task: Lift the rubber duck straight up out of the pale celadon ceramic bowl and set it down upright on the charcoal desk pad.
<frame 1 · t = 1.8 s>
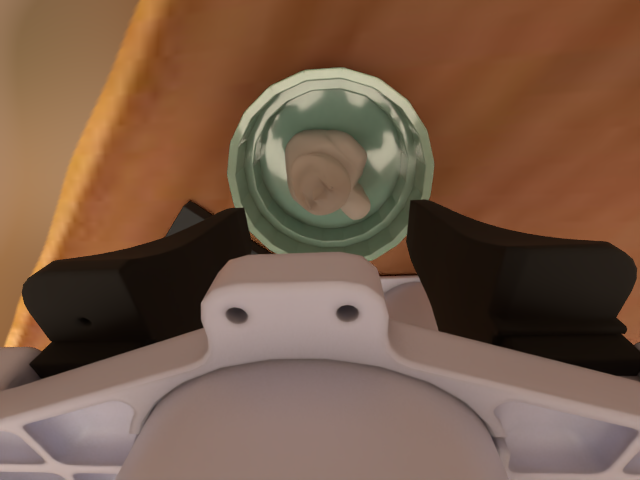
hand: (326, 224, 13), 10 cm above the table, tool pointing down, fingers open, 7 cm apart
bowl: (329, 164, 21), on the table
rubber duck: (329, 165, 21), resting on bowl
desk pad: (205, 312, 29), on the table
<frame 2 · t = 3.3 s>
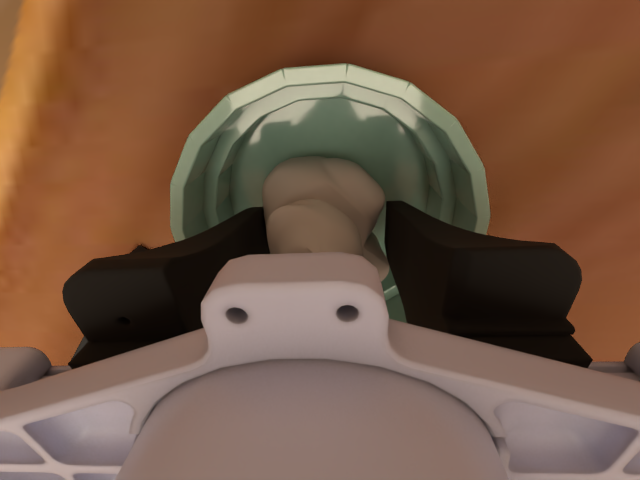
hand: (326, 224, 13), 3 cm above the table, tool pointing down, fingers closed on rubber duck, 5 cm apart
bowl: (328, 200, 15), on the table
rubber duck: (329, 201, 15), resting on bowl, touching gripper
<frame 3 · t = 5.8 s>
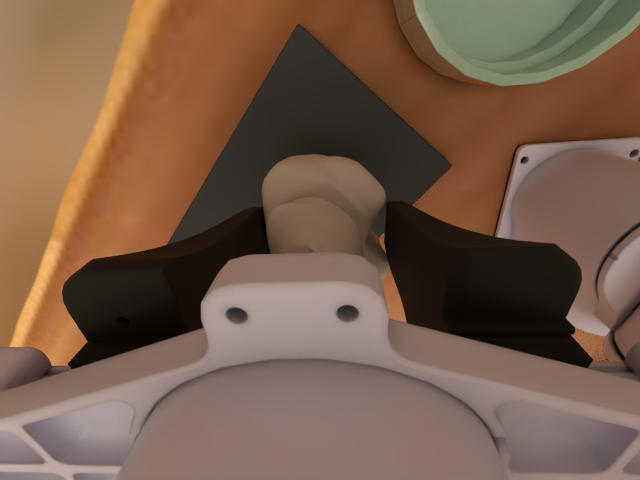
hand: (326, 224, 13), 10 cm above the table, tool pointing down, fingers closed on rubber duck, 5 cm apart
rubber duck: (329, 200, 15), point 7 cm above the table, touching gripper
desk pad: (293, 209, 23), on the table
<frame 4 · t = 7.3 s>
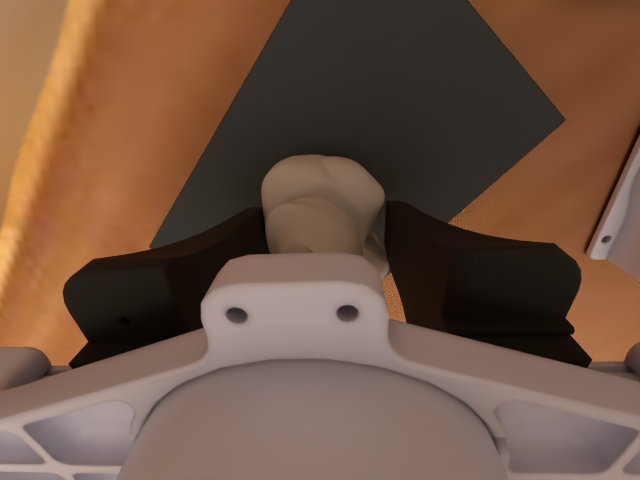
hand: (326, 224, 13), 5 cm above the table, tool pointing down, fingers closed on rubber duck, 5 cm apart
rubber duck: (329, 200, 15), point 2 cm above the table, touching gripper
desk pad: (328, 185, 17), on the table
when the fingers open (4 cm above the table, at t = 8.3 s): rubber duck stays where it is, resting on desk pad.
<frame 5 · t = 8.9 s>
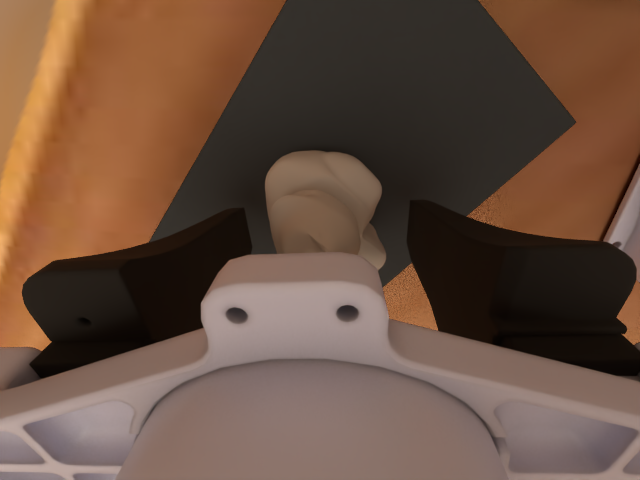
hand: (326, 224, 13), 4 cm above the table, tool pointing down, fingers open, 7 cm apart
rubber duck: (329, 195, 16), point 1 cm above the table, touching desk pad
desk pad: (328, 189, 17), on the table
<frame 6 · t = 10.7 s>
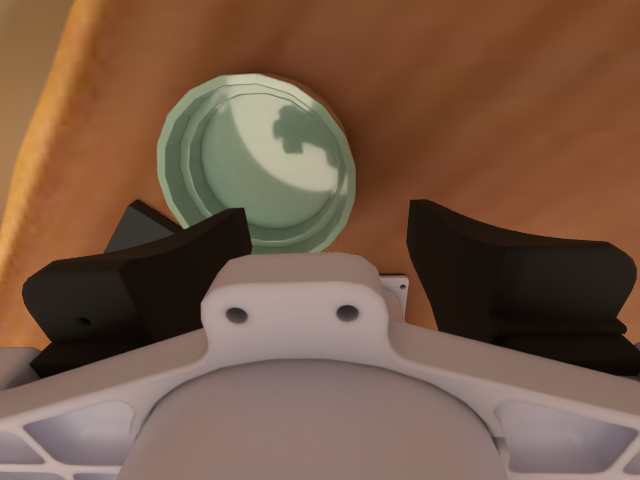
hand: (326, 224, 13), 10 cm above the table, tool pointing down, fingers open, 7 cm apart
bowl: (270, 166, 22), on the table
desk pad: (161, 309, 30), on the table
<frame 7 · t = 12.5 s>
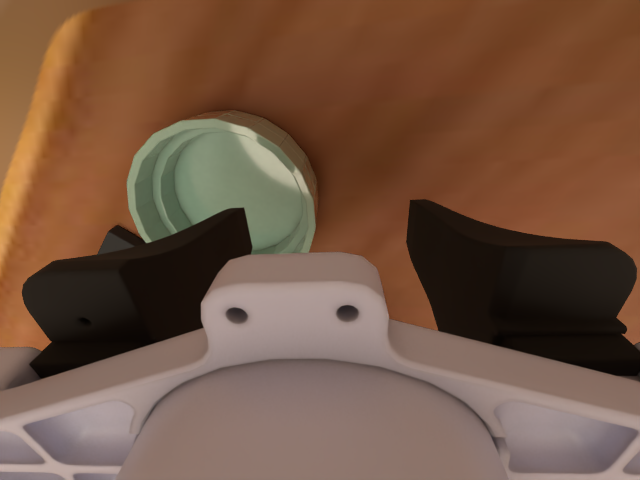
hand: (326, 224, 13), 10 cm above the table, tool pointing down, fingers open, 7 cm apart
bowl: (241, 193, 23), on the table
desk pad: (146, 325, 31), on the table
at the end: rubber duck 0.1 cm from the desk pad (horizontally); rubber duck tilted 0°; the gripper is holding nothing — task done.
